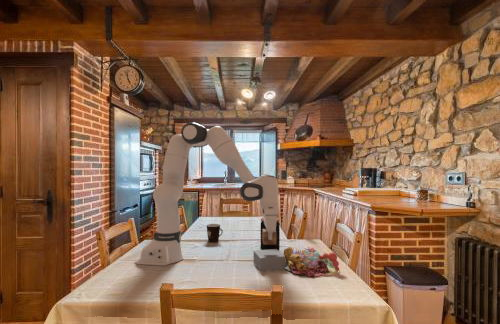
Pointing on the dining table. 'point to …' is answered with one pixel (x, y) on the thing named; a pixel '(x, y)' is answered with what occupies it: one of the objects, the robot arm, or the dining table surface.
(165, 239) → the robot arm
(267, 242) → the walnut block
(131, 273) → the dining table surface
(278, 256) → the grey box
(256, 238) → the dining table surface
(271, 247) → the coffee jar
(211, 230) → the coffee mug
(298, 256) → the candy landscape model
